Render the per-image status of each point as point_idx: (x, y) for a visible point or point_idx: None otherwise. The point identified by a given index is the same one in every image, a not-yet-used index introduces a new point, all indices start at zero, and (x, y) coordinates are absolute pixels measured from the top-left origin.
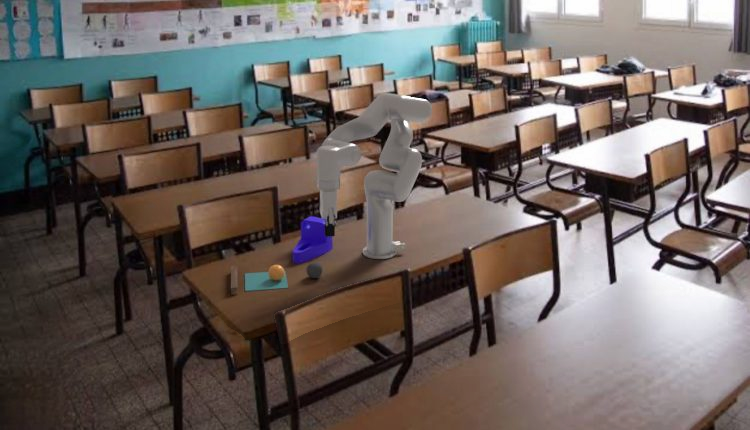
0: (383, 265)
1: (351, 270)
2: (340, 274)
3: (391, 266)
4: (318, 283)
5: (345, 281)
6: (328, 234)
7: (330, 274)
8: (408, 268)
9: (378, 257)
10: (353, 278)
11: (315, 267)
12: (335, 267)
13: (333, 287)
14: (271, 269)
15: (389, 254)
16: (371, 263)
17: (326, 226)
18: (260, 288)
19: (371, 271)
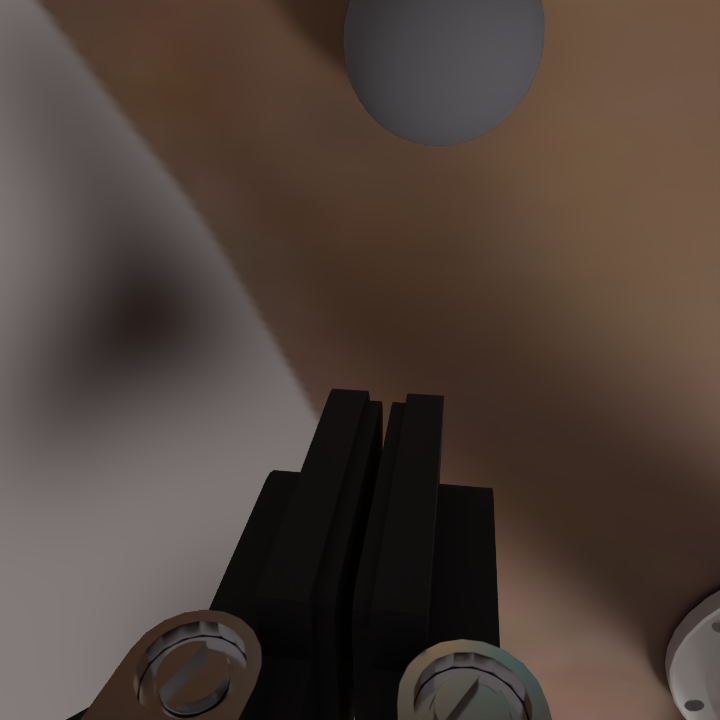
0: (554, 618)
1: (528, 406)
2: (465, 305)
3: (520, 651)
4: (293, 67)
5: (310, 319)
6: (278, 475)
7: (487, 217)
8: None
9: (682, 635)
10: (360, 388)
11: (359, 55)
12: (645, 289)
13: (197, 202)
14: None
15: (701, 705)
16: (622, 564)
17: (264, 603)
18: None
19: None
